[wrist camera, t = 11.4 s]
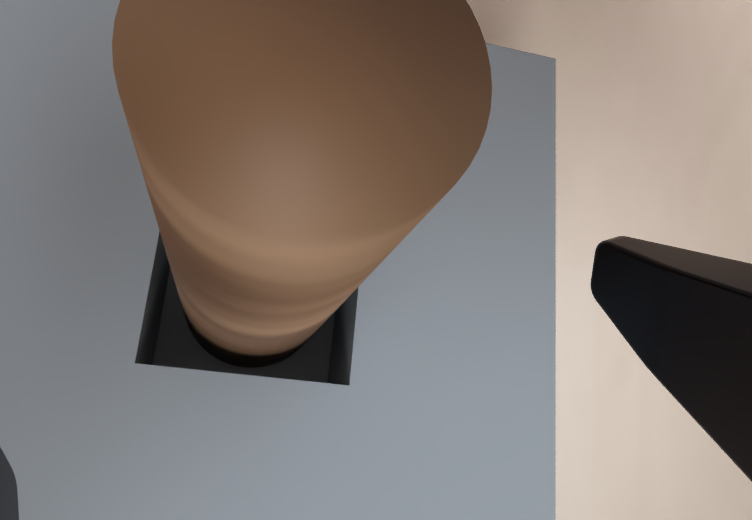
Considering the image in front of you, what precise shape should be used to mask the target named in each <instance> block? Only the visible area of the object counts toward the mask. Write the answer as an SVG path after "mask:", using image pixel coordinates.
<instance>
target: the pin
mask: <svg viewBox="0 0 752 520" xmlns="http://www.w3.org/2000/svg"><path fill="white" fill-rule="evenodd" d="M112 54H113V69H114V74H115V79H116V83H117V88H118V93H119V96H120V99H121V103H122V106H123V109H124V113H125V116H126V120H127V123H128V126H129V130H130V133H131V136H132V140H133V143H134V146H135V150H136V153H137V157H138V160H139V163H140V167H141V170H142V173H143V177H144V180H145V183H146V187H147V190H148V194H149V197H150V200H151V204H152V207H153V210H154V214H155V217H156V220H157V224H158V227H159V231H160V234H161V237H162V241H163V244H164V247H165V251H166V254H167V257H168V261H169V264H170V268H171V271H172V274H173V278H174V281H175V284H176V288H177V291H178V294H179V298H180V301H181V305H182V308H183V311H184V315H185V318H186V321H187V324H188V327H189V329H190V331H191V333H192V335H193V336H194V338H195V339H196V340H197V342H198V343H199V344H200V345H201V346H202V347H203V348H204V349H205V350H206V351H207V352H208V353H209V354H211V355H212V356H214V357H215V358H217V359H219V360H221V361H223V362H225V363H228V364H231V365H235V366H239V367H247V368H256V367H264V366H268V365H272V364H275V363H278V362H280V361H282V360H284V359H286V358H288V357H289V356H291V355H292V354H294V353H295V352H296V351H297V350H298V349H299V348H300V347H301V346H302V345H303V344H304V343H305V342H306V341H307V340H308V339H309V338H310V337H311V336H312V335H313V334H314V333H315V332H316V331H317V330H318V329H319V328H320V327H321V326H322V324H323V323H324V322H325V321H326V320H327V319H328V318H329V317H330V316H331V315H332V314H333V313H334V312H335V311H336V310H337V309H338V308H339V307H340V305H341V304H342V303H343V302H344V301H345V300H346V299H347V298H348V297H349V296H350V295H351V294H352V293H353V292H354V291H355V290H356V289H357V288H358V287H359V285H360V284H361V283H362V282H363V281H364V280H365V279H366V278H367V277H368V276H369V275H370V274H371V273H372V272H373V271H374V270H375V269H376V268H377V267H378V265H379V264H380V263H381V262H382V261H383V260H384V259H385V258H386V257H387V256H388V255H389V254H390V253H391V252H392V251H393V250H394V249H395V248H396V246H397V245H398V244H399V243H400V242H401V241H402V240H403V239H404V238H405V237H406V236H407V235H408V234H409V233H410V232H411V231H412V230H413V229H414V228H415V226H416V225H417V224H418V223H419V222H420V221H421V220H422V219H423V218H424V217H425V216H426V215H427V214H428V213H429V212H430V211H431V210H432V209H433V208H434V206H435V205H436V204H437V203H438V202H439V201H440V200H441V199H442V198H443V197H444V196H445V195H446V194H447V193H448V192H449V191H450V190H451V189H452V188H453V186H454V185H455V184H456V183H457V182H458V181H459V179H460V178H461V177H462V175H463V174H464V173H465V171H466V170H467V169H468V168H469V166H470V164H471V162H472V161H473V159H474V157H475V155H476V153H477V152H478V150H479V148H480V145H481V142H482V140H483V137H484V134H485V132H486V129H487V124H488V120H489V115H490V110H491V98H492V79H491V67H490V62H489V57H488V52H487V47H486V44H485V41H484V38H483V35H482V32H481V30H480V27H479V25H478V23H477V21H476V19H475V16H474V14H473V12H472V10H471V8H470V7H469V5H468V3H467V2H466V0H120V2H119V6H118V9H117V13H116V17H115V20H114V29H113V39H112Z"/></svg>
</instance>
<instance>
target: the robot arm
mask: <svg viewBox="0 0 752 520" xmlns="http://www.w3.org/2000/svg"><path fill="white" fill-rule="evenodd" d="M591 290H592V294H593V296H594V298H595V299H596V301H597V302H598V303H599V305H600V306H601V307H602V309H603V310H604V311H605V313H606V314H607V315H608V317H609V318H610V319H611V321H612V322H613V323H614V325H615V326H616V327H617V329H618V330H619V331H620V333H621V334H622V335H623V337H624V338H625V339H626V341H627V342H628V343H629V345H630V346H631V347H632V349H633V350H634V351H635V352H636V354H637V355H638V356H639V358H640V359H641V360H642V361H643V363H644V364H645V365H646V367H647V368H648V369H649V370H650V371H651V372H652V373H653V375H654V376H655V377H656V378H657V379H658V380H659V381H660V382H661V384H662V385H663V386H664V387H665V388H666V389H667V390H668V391H669V392H670V393H671V394H672V395H673V397H674V398H675V399H676V400H677V401H678V402H679V403H680V404H681V405H682V406H683V407H684V408H685V410H686V411H687V412H688V413H689V414H690V415H691V416H692V417H693V418H694V419H695V420H696V422H697V423H698V424H699V425H700V426H701V427H702V428H703V429H704V430H705V431H706V432H707V433H708V435H709V436H710V437H711V438H712V439H713V440H714V441H715V442H716V443H717V444H718V445H719V447H720V448H721V449H722V450H723V451H724V452H725V453H726V454H727V455H728V456H729V457H730V458H731V460H732V461H733V462H734V463H735V464H736V465H737V466H738V467H739V468H740V469H741V470H742V472H743V473H744V474H745V475H746V476H747V477H748V478H749V479H750V480H751V481H752V264H750V263H745V262H741V261H736V260H732V259H727V258H723V257H718V256H713V255H709V254H704V253H700V252H695V251H690V250H686V249H681V248H677V247H672V246H667V245H663V244H658V243H654V242H649V241H644V240H640V239H635V238H631V237H626V236H619V237H615V238H612V239H608V240H605V241H602V242H601V243H599V244H598V246H597V248H596V251H595V257H594V264H593V271H592V278H591ZM0 520H19V508H18V491H17V483H16V478H15V474H14V472H13V469H12V467H11V465H10V463H9V462H8V460H7V458H6V456H5V454H4V452H3V451H2V449H1V447H0Z"/></svg>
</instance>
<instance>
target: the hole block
mask: <svg viewBox="0 0 752 520" xmlns="http://www.w3.org/2000/svg"><path fill="white" fill-rule="evenodd" d="M119 2H120V0H0V447H1V449H2V451H3V452H4V454H5V456H6V458H7V460H8V462H9V463H10V465H11V467H12V469H13V472H14V474H15V478H16V483H17V491H18V508H19V520H555V59H554V58H549V57H545V56H540V55H536V54H532V53H527V52H523V51H518V50H514V49H509V48H505V47H501V46H496V45H492V44H487V43H485V44H486V47H487V52H488V57H489V62H490V67H491V79H492V98H491V110H490V115H489V120H488V124H487V129H486V132H485V134H484V137H483V140H482V142H481V145H480V148H479V150H478V152H477V153H476V155H475V157H474V159H473V161H472V162H471V164H470V166H469V168H468V169H467V170H466V171H465V173H464V174H463V175H462V177H461V178H460V179H459V181H458V182H457V183H456V184H455V185H454V186H453V188H452V189H451V190H450V191H449V192H448V193H447V194H446V195H445V196H444V197H443V198H442V199H441V200H440V201H439V202H438V203H437V204H436V205H435V206H434V208H433V209H432V210H431V211H430V212H429V213H428V214H427V215H426V216H425V217H424V218H423V219H422V220H421V221H420V222H419V223H418V224H417V225H416V226H415V228H414V229H413V230H412V231H411V232H410V233H409V234H408V235H407V236H406V237H405V238H404V239H403V240H402V241H401V242H400V243H399V244H398V245H397V246H396V248H395V249H394V250H393V251H392V252H391V253H390V254H389V255H388V256H387V257H386V258H385V259H384V260H383V261H382V262H381V263H380V264H379V265H378V267H377V268H376V269H375V270H374V271H373V272H372V273H371V274H370V275H369V276H368V277H367V278H366V279H365V280H364V281H363V282H362V283H361V284H360V285H359V287H358V288H357V289H356V290H355V291H354V292H353V293H352V294H351V295H350V296H349V297H348V298H347V299H346V300H345V301H344V302H343V303H342V304H341V305H340V307H339V308H338V309H337V310H336V311H335V312H334V313H333V314H332V315H331V316H330V317H329V318H328V319H327V320H326V321H325V322H324V323H323V324H322V326H321V327H320V328H319V329H318V330H317V331H316V332H315V333H314V334H313V335H312V336H311V337H310V338H309V339H308V340H307V341H306V342H305V343H304V344H303V345H302V346H301V347H300V348H299V349H298V350H297V351H296V352H295V353H294V354H292V355H291V356H289V357H288V358H286V359H284V360H282V361H280V362H278V363H275V364H272V365H268V366H264V367H256V368H247V367H239V366H235V365H231V364H228V363H225V362H223V361H221V360H219V359H217V358H215V357H214V356H212V355H211V354H209V353H208V352H207V351H206V350H205V349H204V348H203V347H202V346H201V345H200V344H199V343H198V342H197V340H196V339H195V338H194V336H193V335H192V333H191V331H190V329H189V327H188V324H187V321H186V318H185V315H184V311H183V308H182V305H181V301H180V298H179V294H178V291H177V288H176V284H175V281H174V278H173V274H172V271H171V268H170V264H169V261H168V257H167V254H166V251H165V247H164V244H163V241H162V237H161V234H160V231H159V227H158V224H157V220H156V217H155V214H154V210H153V207H152V204H151V200H150V197H149V194H148V190H147V187H146V183H145V180H144V177H143V173H142V170H141V167H140V163H139V160H138V157H137V153H136V150H135V146H134V143H133V140H132V136H131V133H130V130H129V126H128V123H127V120H126V116H125V113H124V109H123V106H122V103H121V99H120V96H119V93H118V88H117V83H116V79H115V74H114V69H113V54H112V39H113V29H114V20H115V17H116V13H117V9H118V6H119Z"/></svg>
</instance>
